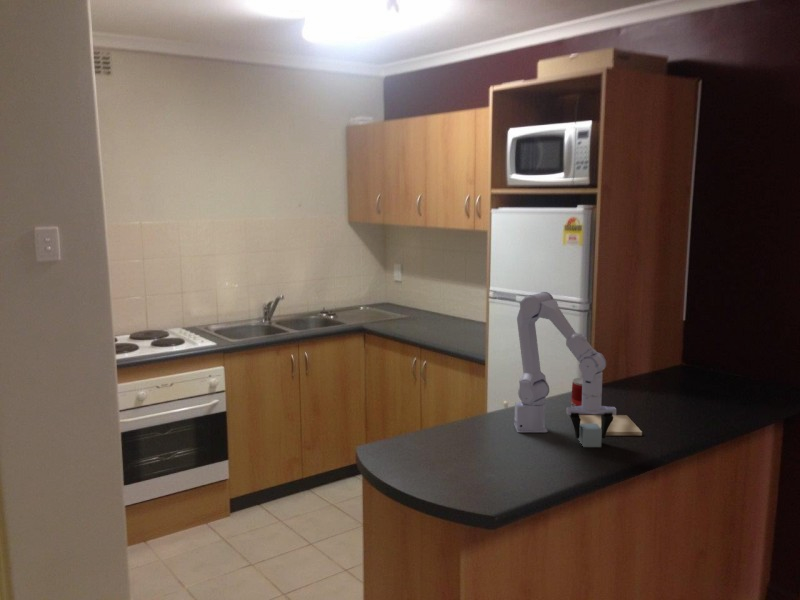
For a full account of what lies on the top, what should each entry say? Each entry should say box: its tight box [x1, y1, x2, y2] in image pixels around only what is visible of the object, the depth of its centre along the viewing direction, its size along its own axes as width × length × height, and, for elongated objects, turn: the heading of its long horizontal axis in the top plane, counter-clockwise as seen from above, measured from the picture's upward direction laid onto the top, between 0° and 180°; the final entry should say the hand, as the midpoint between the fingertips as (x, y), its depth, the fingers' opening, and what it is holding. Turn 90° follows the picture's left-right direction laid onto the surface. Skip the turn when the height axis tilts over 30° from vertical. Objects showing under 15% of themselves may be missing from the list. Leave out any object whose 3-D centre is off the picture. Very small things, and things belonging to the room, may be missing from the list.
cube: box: [577, 424, 603, 448], centre depth 215 cm, size 6×6×6 cm
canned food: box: [570, 377, 592, 415], centre depth 244 cm, size 8×8×11 cm
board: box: [579, 414, 643, 437], centre depth 230 cm, size 18×16×1 cm
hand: (590, 437), depth 215 cm, fingers open, 7 cm apart
